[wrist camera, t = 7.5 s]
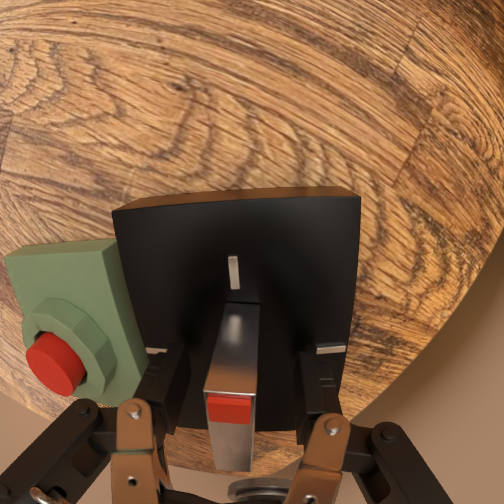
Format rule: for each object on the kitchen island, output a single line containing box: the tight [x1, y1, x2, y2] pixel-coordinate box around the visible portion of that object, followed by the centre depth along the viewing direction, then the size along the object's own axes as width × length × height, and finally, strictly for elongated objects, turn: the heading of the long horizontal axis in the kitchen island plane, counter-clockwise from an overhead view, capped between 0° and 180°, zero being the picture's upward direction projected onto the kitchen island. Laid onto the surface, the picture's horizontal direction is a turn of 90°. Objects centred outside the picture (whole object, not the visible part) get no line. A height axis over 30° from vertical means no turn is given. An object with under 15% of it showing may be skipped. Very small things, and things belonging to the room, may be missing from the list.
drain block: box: [4, 238, 150, 407], centre depth 15 cm, size 12×9×4 cm
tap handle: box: [203, 303, 261, 472], centre depth 10 cm, size 6×2×5 cm, turn 179°
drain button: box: [26, 332, 86, 396], centre depth 12 cm, size 4×4×2 cm
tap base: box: [112, 186, 361, 431], centre depth 14 cm, size 14×10×3 cm
